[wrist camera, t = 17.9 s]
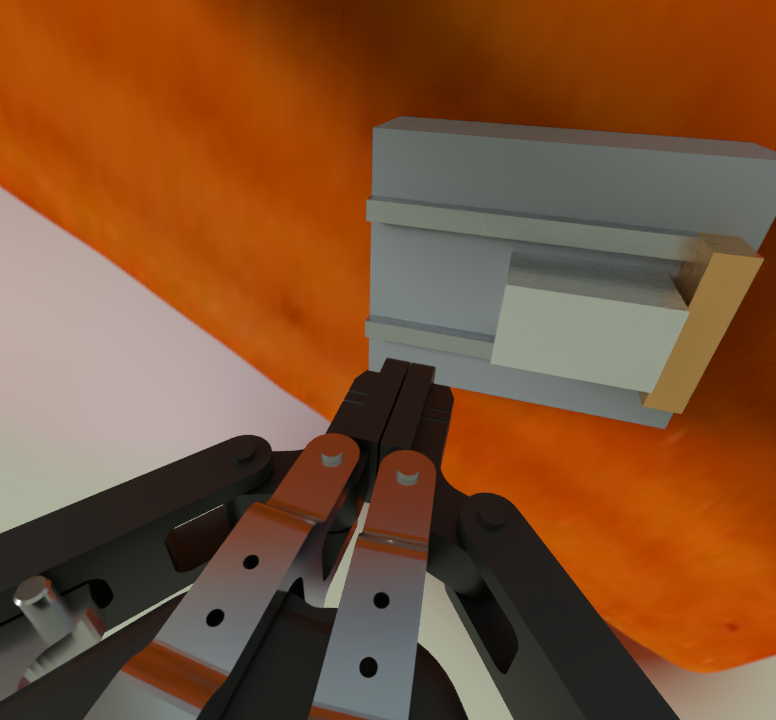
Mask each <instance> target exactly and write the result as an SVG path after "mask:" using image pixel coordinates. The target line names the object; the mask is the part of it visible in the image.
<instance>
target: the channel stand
mask: <svg viewBox="0 0 776 720" xmlns="http://www.w3.org/2000/svg"><path fill="white" fill-rule="evenodd" d="M775 216H776V152H775V151H773V150H770V149H768V148H765V147H763V146H760V145H758V144H755V143H752V142H739V141H725V140H712V139H699V138H686V137H672V136H659V135H646V134H632V133H619V132H606V131H593V130H579V129H566V128H553V127H539V126H526V125H513V124H500V123H486V122H473V121H460V120H446V119H433V118H420V117H407V116H400V117H397V118H395V119H393V120H390V121H388V122H385V123H383V124H380V125H378V126H376V127H373V156H372V195H371V196H370V197H369V198H368V199H366V221H371V276H370V315H369V316H368V318H367V319H366V321H365V337H369V371H374V372H380V370H381V368H382V366H383V364H384V362H385V360H386V358H387V357H388V358H393V359H398V360H403V361H408V362H411V363H412V362H414V363H419V364H424V365H429V366H434V367H436V372H435V379H434V384H439V385H444V386H449V387H454V388H460V389H465V390H470V391H475V392H480V393H485V394H490V395H495V396H500V397H505V398H510V399H515V400H520V401H525V402H530V403H536V404H541V405H546V406H551V407H556V408H561V409H566V410H571V411H576V412H581V413H586V414H591V415H596V416H601V417H606V418H611V419H617V420H622V421H627V422H632V423H637V424H642V425H647V426H652V427H657V428H662V429H665V428H666V426H667V424H668V422H669V420H670V418H671V417H672V415H673V413H679V414H682V412H683V410H684V409H685V407H686V405H687V403H688V401H689V399H690V397H691V395H692V394H693V392H694V390H695V388H696V386H697V384H698V382H699V380H700V379H701V377H702V375H703V373H704V371H705V369H706V367H707V365H708V364H709V362H710V360H711V358H712V356H713V354H714V352H715V350H716V349H717V347H718V345H719V343H720V341H721V339H722V337H723V336H724V334H725V332H726V330H727V328H728V326H729V324H730V322H731V321H732V319H733V317H734V315H735V313H736V311H737V309H738V307H739V306H740V304H741V302H742V300H743V298H744V296H745V294H746V292H747V291H748V289H749V287H750V285H751V283H752V281H753V279H754V277H755V276H756V274H757V272H758V270H759V268H760V266H761V264H762V262H763V261H764V258H763V257H762V256H761V255H760V254H759V253H758V252H757V251H758V249H759V247H760V245H761V243H762V241H763V239H764V238H765V236H766V234H767V232H768V230H769V228H770V226H771V224H772V222H773V220H774V218H775ZM512 249H513V250H521V251H529V252H536V253H544V254H552V255H559V256H567V257H575V258H582V259H590V260H597V261H605V262H613V263H620V264H628V265H636V266H643V267H651V268H659V269H665V270H666V272H667V273H668V275H669V277H670V278H671V280H672V282H673V283H674V285H675V287H676V289H677V290H678V292H679V294H680V295H681V297H682V299H683V301H684V302H685V304H686V306H687V307H688V309H689V311H690V313H689V315H688V317H687V319H686V321H685V324H684V326H683V328H682V330H681V332H680V334H679V336H678V339H677V341H676V343H675V345H674V347H673V349H672V351H671V353H670V356H669V358H668V360H667V362H666V364H665V366H664V368H663V371H662V373H661V375H660V377H659V379H658V381H657V383H656V385H655V388H654V390H653V392H652V393H647V392H642V391H636V390H631V389H626V388H620V387H615V386H609V385H604V384H598V383H593V382H587V381H582V380H577V379H571V378H566V377H560V376H555V375H549V374H544V373H538V372H533V371H528V370H522V369H517V368H511V367H506V366H500V365H495V364H490V362H491V356H492V350H493V344H494V338H495V332H496V326H497V320H498V315H499V310H500V305H501V300H502V295H503V290H504V285H505V280H506V275H507V270H508V265H509V260H510V255H511V250H512Z"/></svg>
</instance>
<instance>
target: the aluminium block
mask: <svg viewBox="0 0 776 720" xmlns="http://www.w3.org/2000/svg"><path fill="white" fill-rule="evenodd" d="M689 313H690V311H689V309H688V307H687V306H686V304H685V302H684V301H683V299H682V297H681V295H680V294H679V292H678V290H677V289H676V287H675V285H674V283H673V282H672V280H671V278H670V277H669V275H668V273H667V272H666V270H665V269H659V268H651V267H643V266H636V265H628V264H620V263H613V262H605V261H597V260H590V259H582V258H575V257H567V256H559V255H552V254H544V253H536V252H529V251H521V250H513V249H512V250H511V255H510V260H509V265H508V270H507V275H506V280H505V285H504V290H503V295H502V300H501V305H500V310H499V315H498V320H497V326H496V332H495V338H494V344H493V350H492V356H491V362H490V364H495V365H500V366H506V367H511V368H517V369H522V370H528V371H533V372H538V373H544V374H549V375H555V376H560V377H566V378H571V379H577V380H582V381H587V382H593V383H598V384H604V385H609V386H615V387H620V388H626V389H631V390H636V391H642V392H647V393H652V392H653V390H654V388H655V385H656V383H657V381H658V379H659V377H660V375H661V373H662V371H663V368H664V366H665V364H666V362H667V360H668V358H669V356H670V353H671V351H672V349H673V347H674V345H675V343H676V341H677V339H678V336H679V334H680V332H681V330H682V328H683V326H684V324H685V321H686V319H687V317H688V315H689Z"/></svg>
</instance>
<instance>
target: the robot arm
mask: <svg viewBox="0 0 776 720" xmlns="http://www.w3.org/2000/svg"><path fill="white" fill-rule="evenodd" d="M435 372H436V367H434V366H429V365H424V364H419V363H414V362H412V363H411V362H408V361H403V360H398V359H393V358H388V357H387V358H386V360H385V362H384V364H383V366H382V368H381V370H380V372H374V371H369V370H366V371H365V372H364V373H362V374H361V375H360V376H358V377H357V378H355V380H354V382H353V384H352V385H351V387H350V389H349V392H348V393H347V395H346V397H345V398H344V401H343V402H342V404H341V406H340V408H339V410H338V411H337V413H336V415H335V417H334V419H333V421H332V423H331V424H330V426H329V428H328V430H327V432H326V434H324V435H320V436H318V437H316V438H314V439H313V440H312V441H311V442H309V443H308V445H307V446H306V448H305V449H302V450H297V451H272V449H271V446H270V444H269V443H268V442H267V441H266V440H265V439H263V438H261V437H258V436H254V435H241V436H237V437H234V438H231V439H229V440H226V441H224V442H221V443H219V444H217V445H214V446H212V447H209V448H207V449H204V450H202V451H200V452H197V453H195V454H192V455H190V456H187V457H185V458H183V459H180V460H178V461H175V462H173V463H171V464H168V465H166V466H163V467H161V468H158V469H156V470H153V471H151V472H149V473H146V474H144V475H141V476H139V477H136V478H134V479H132V480H129V481H127V482H124V483H122V484H120V485H117V486H115V487H112V488H110V489H107V490H105V491H103V492H100V493H98V494H95V495H93V496H90V497H88V498H85V499H83V500H81V501H78V502H76V503H73V504H71V505H69V506H66V507H64V508H61V509H59V510H56V511H54V512H52V513H49V514H47V515H44V516H42V517H39V518H37V519H34V520H32V521H30V522H27V523H25V524H22V525H20V526H17V527H15V528H13V529H10V530H8V531H5V532H3V533H1V534H0V720H469V719H468V717H467V715H466V712H465V710H464V708H463V705H462V703H461V701H460V698H459V696H458V694H457V692H456V690H455V687H454V685H453V684H452V682H451V680H450V679H449V677H448V675H447V673H446V672H445V671H444V669H443V668H442V667H441V665H440V664H439V663H438V661H437V660H436V659H435V658H434V657H433V656H432V655H431V654H430V653H429V651H427V650H426V649H425V648H424V647H423V646H422V645H420V644H419V643H418V642H417V641H418V633H419V625H420V615H421V608H422V599H423V591H424V582H425V574H426V571H427V572H428V573H430V574H431V575H433V576H434V577H436V578H437V579H439V580H440V581H442V582H443V583H444V584H445V589H446V592H447V594H448V596H449V598H450V600H451V602H452V604H453V606H454V608H455V610H456V611H457V613H458V615H459V617H460V619H461V621H462V623H463V625H464V627H465V628H466V630H467V632H468V634H469V636H470V638H471V640H472V642H473V644H474V645H475V647H476V649H477V651H478V653H479V655H480V656H481V659H482V660H483V662H484V664H485V666H486V668H487V670H488V672H489V674H490V675H491V677H492V679H493V681H494V683H495V685H496V687H497V689H498V690H499V692H500V694H501V696H502V698H503V700H504V702H505V704H506V706H507V707H508V709H509V711H510V713H511V715H512V717H513V719H514V720H680V719H679V718H678V716H677V715H676V714H675V712H674V711H673V710H672V709H671V707H670V706H669V705H668V703H667V702H666V701H665V700H664V698H663V697H662V696H661V694H660V693H659V692H658V691H657V689H656V688H655V686H654V685H653V684H652V683H651V681H650V680H649V679H648V678H647V676H646V675H645V674H644V672H643V671H642V670H641V668H640V667H639V666H638V664H637V663H636V662H635V661H634V659H633V658H632V657H631V655H630V654H629V653H628V651H627V650H626V649H625V648H624V646H623V645H622V644H621V642H620V641H619V640H618V639H617V637H616V636H615V635H614V634H613V632H612V631H611V630H610V628H609V627H608V626H607V624H606V623H605V622H604V620H603V619H602V618H601V617H600V615H599V614H598V613H597V611H596V610H595V609H594V607H593V606H592V605H591V604H590V602H589V601H588V600H587V598H586V597H585V596H584V594H583V593H582V592H581V591H580V589H579V588H578V587H577V585H576V584H575V583H574V582H573V580H572V579H571V578H570V576H569V575H568V574H567V572H566V571H565V570H564V569H563V567H562V566H561V565H560V563H559V562H558V561H557V560H556V558H555V557H554V556H553V554H552V553H551V552H550V550H549V549H548V548H547V547H546V545H545V544H544V543H543V541H542V540H541V539H540V537H539V536H538V535H537V534H536V532H535V531H534V530H533V528H532V527H531V526H530V525H529V523H528V522H527V521H526V519H525V518H524V517H523V515H522V514H521V513H520V512H519V510H518V509H517V508H516V507H515V506H514V505H513V504H512V503H511V502H510V501H509V500H507V499H506V498H504V497H502V496H499V495H496V494H493V493H477V494H474V495H472V496H470V497H469V496H467V495H465V494H463V493H462V492H460V491H458V490H457V489H455V488H454V487H452V486H451V485H450V484H449V483H448V482H447V481H446V479H445V478H444V476H443V474H442V472H441V463H442V459H443V454H444V449H445V445H446V440H447V436H448V430H449V425H450V419H451V414H452V408H453V403H454V397H453V394H452V392H451V389H450V387H449V386H444V385H439V384H434V379H435ZM364 502H367V503H370V506H369V509H368V513H367V517H366V521H365V524H364V528H363V532H362V533H360V534H359V535H358V538H357V541H356V544H355V547H354V551H353V555H352V558H351V562H350V566H349V570H348V573H347V577H346V581H345V585H344V589H343V592H342V596H341V599H340V603H339V607H338V608H323V607H324V602H325V598H326V594H327V591H328V589H329V586H330V584H331V582H332V580H333V577H334V575H335V573H336V571H337V569H338V567H339V564H340V562H341V560H342V558H343V556H344V553H345V552H346V549H347V547H348V545H349V543H350V541H351V539H352V536H353V534H354V532H355V530H356V528H357V523H358V517H359V515H360V512H361V510H362V507H363V504H364ZM222 504H223V505H222ZM220 505H222V506H220ZM218 506H220V507H218ZM216 507H218V508H216ZM214 508H216V509H214ZM212 509H214V510H212ZM210 510H212V511H210ZM208 511H210V512H208ZM206 512H208V513H206ZM204 513H206V514H204ZM202 514H204V515H202ZM200 515H202V516H200ZM198 516H200V517H198ZM196 517H198V518H196ZM193 518H196V519H194V520H192V521H190V522H187V521H189V520H191V519H193ZM185 522H187V523H185ZM183 523H185V524H183ZM181 524H183V525H181ZM179 525H181V526H180V527H177V526H179ZM175 527H177V528H175ZM174 528H175V529H174ZM194 582H195V583H194ZM193 583H194V584H193ZM191 584H193V585H192V587H191V588H190V590H189V591H187V592H185V593H183V594H180V595H178V596H176V597H174V598H172V599H171V600H169V601H167V602H166V603H164V604H162V605H161V606H159V607H157V608H156V609H154V610H152V611H151V612H149V613H147V614H146V615H144V616H142V617H141V618H139V619H137V620H136V621H134V622H132V623H130V624H129V625H127V626H126V627H124V628H122V629H120V630H119V631H117V632H115V633H114V634H112V635H110V636H109V637H107V638H105V639H104V640H102V641H101V639H102V637H103V635H104V633H105V632H107V631H108V630H110V629H112V628H114V627H116V626H117V625H119V624H121V623H123V622H124V621H126V620H128V619H130V618H132V617H133V616H135V615H137V614H139V613H141V612H142V611H144V610H146V609H148V608H150V607H151V606H153V605H155V604H157V603H159V602H160V601H162V600H164V599H166V598H168V597H169V596H171V595H173V594H175V593H176V592H178V591H180V590H182V589H184V588H185V587H187V586H189V585H191Z"/></svg>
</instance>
